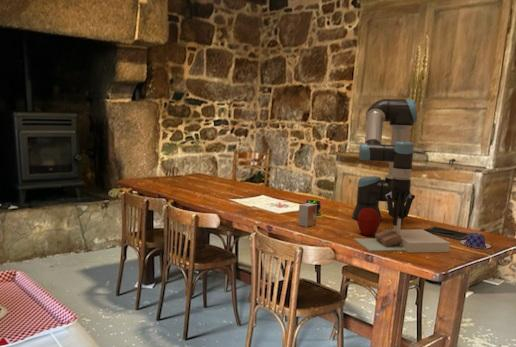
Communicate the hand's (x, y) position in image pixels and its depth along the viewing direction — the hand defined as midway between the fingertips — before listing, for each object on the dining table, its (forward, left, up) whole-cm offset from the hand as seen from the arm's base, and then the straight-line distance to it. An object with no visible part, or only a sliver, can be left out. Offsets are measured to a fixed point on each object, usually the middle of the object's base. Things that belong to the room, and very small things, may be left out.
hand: (396, 232), depth 171 cm
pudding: (+1, +37, -6) cm, 38 cm away
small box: (-34, -30, -6) cm, 45 cm away
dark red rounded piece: (-16, -6, -6) cm, 18 cm away
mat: (0, -8, -5) cm, 9 cm away
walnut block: (0, -3, -4) cm, 5 cm away
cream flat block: (0, +9, -5) cm, 11 cm away
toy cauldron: (-57, -20, -6) cm, 60 cm away
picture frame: (-16, +35, -6) cm, 39 cm away
